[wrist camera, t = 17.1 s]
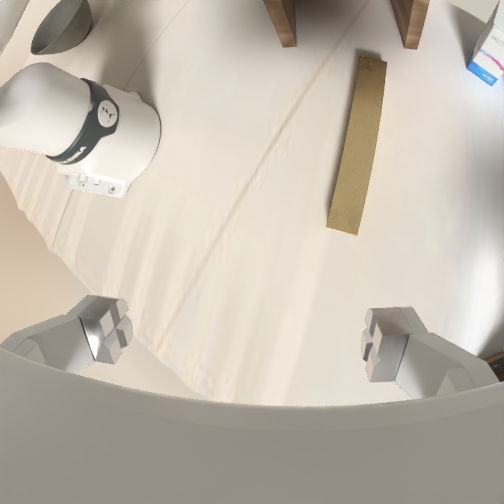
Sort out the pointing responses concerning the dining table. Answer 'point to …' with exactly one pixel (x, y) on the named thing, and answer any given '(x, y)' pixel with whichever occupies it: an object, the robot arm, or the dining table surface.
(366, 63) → the brass bar
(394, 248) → the dining table surface
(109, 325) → the robot arm
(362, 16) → the dining table surface
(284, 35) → the walnut stand
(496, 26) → the ink box
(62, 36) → the bowl
